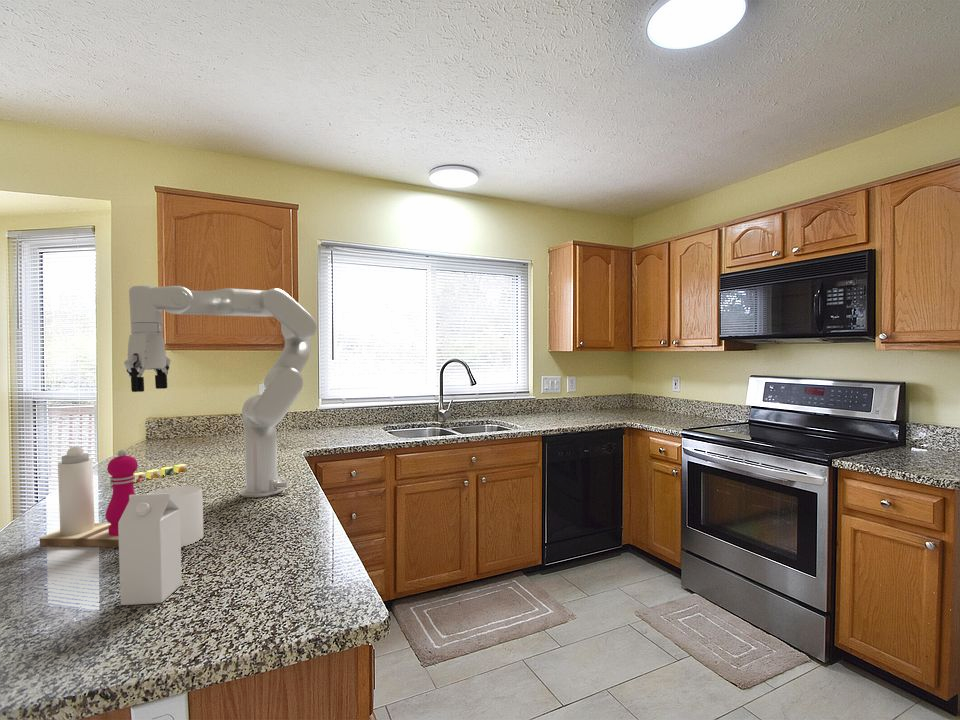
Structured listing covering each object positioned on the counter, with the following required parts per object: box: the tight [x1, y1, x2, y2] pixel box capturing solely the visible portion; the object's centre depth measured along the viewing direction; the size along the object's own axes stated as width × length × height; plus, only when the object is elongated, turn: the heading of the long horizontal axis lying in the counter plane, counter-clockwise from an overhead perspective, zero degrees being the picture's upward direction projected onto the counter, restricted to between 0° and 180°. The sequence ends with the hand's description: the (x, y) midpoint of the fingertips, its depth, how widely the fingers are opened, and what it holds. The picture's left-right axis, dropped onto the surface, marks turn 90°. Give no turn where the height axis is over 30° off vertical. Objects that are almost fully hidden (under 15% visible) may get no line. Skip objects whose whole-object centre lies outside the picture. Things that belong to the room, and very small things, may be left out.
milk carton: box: [118, 493, 183, 606], centre depth 93 cm, size 7×7×19 cm
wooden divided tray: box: [39, 522, 119, 548], centre depth 122 cm, size 22×10×2 cm, turn 86°
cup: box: [147, 484, 204, 548], centre depth 120 cm, size 12×12×12 cm
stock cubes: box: [134, 463, 188, 483], centre depth 181 cm, size 32×32×3 cm
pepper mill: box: [105, 449, 138, 536], centre depth 121 cm, size 7×7×20 cm
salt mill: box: [57, 445, 96, 535], centre depth 122 cm, size 7×7×21 cm
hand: (150, 390), depth 141 cm, fingers open, 9 cm apart
